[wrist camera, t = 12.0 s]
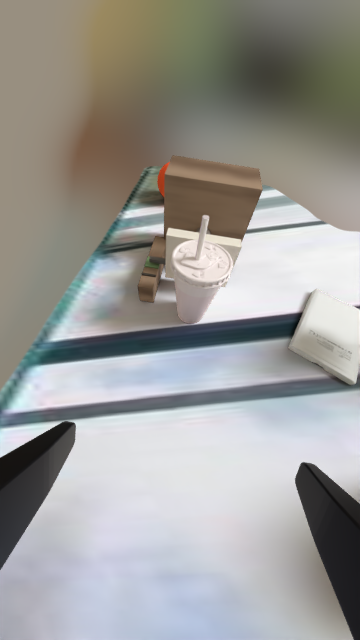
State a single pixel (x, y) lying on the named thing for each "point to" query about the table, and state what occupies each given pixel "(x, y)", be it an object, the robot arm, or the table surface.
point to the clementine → (162, 179)
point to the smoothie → (198, 274)
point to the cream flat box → (180, 236)
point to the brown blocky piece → (202, 206)
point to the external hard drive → (329, 336)
